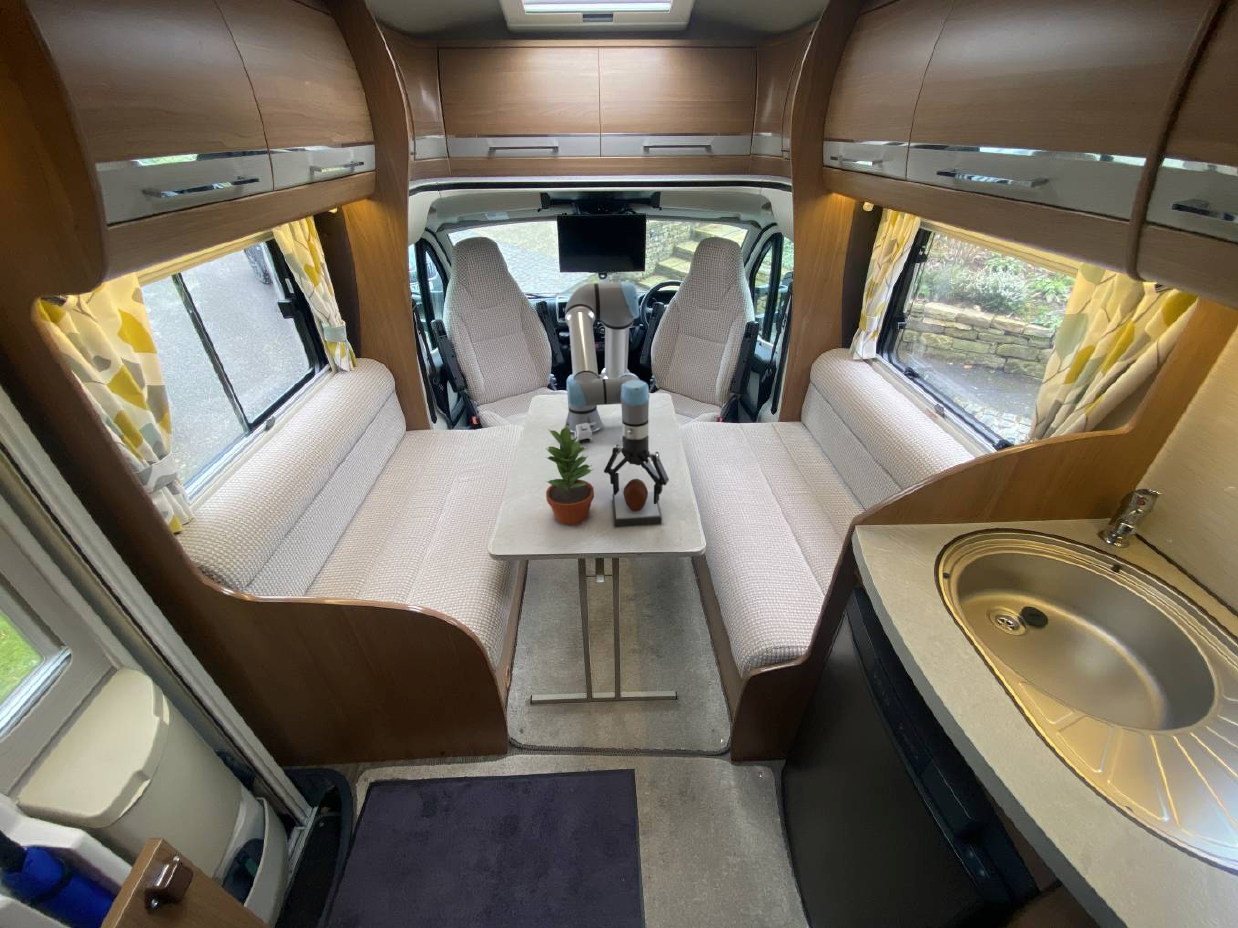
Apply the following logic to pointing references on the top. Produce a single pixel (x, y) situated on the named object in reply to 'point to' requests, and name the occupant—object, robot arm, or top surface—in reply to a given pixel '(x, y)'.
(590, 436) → the tape dispenser
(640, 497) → the potato
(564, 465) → the potted plant
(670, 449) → the top surface
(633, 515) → the scale
